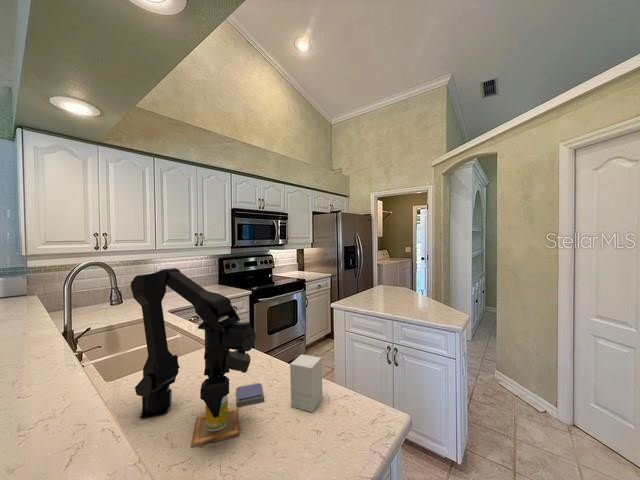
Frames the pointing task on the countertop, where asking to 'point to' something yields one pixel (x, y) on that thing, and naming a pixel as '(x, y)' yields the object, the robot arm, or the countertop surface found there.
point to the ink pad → (249, 395)
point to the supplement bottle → (220, 421)
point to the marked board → (206, 437)
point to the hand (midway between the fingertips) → (217, 405)
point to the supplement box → (306, 382)
